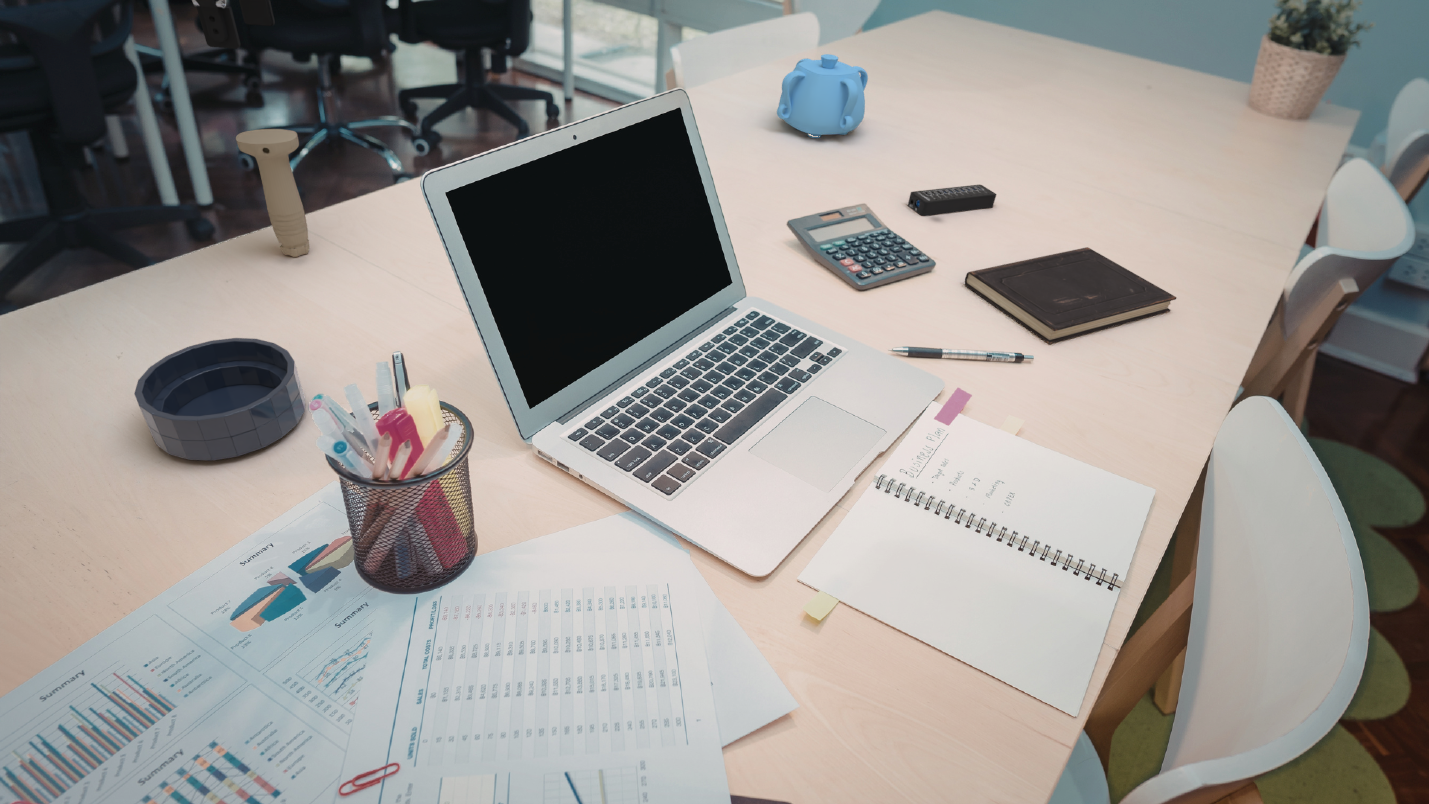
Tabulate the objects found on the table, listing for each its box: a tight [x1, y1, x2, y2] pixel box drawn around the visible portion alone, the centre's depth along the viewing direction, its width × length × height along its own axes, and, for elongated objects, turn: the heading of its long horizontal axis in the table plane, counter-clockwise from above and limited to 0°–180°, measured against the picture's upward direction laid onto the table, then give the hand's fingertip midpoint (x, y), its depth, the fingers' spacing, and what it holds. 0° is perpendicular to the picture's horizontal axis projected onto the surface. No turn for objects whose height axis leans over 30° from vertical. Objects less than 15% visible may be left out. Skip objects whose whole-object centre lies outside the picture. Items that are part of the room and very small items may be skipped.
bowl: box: [134, 337, 306, 461], centre depth 76 cm, size 13×13×5 cm
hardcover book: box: [964, 246, 1178, 345], centre depth 110 cm, size 16×23×2 cm
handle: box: [235, 128, 310, 258], centre depth 99 cm, size 5×6×15 cm
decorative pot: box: [776, 53, 869, 139], centre depth 155 cm, size 16×16×14 cm
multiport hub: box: [907, 184, 997, 217], centre depth 133 cm, size 4×14×2 cm, turn 114°
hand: (243, 35), depth 89 cm, fingers open, 9 cm apart
